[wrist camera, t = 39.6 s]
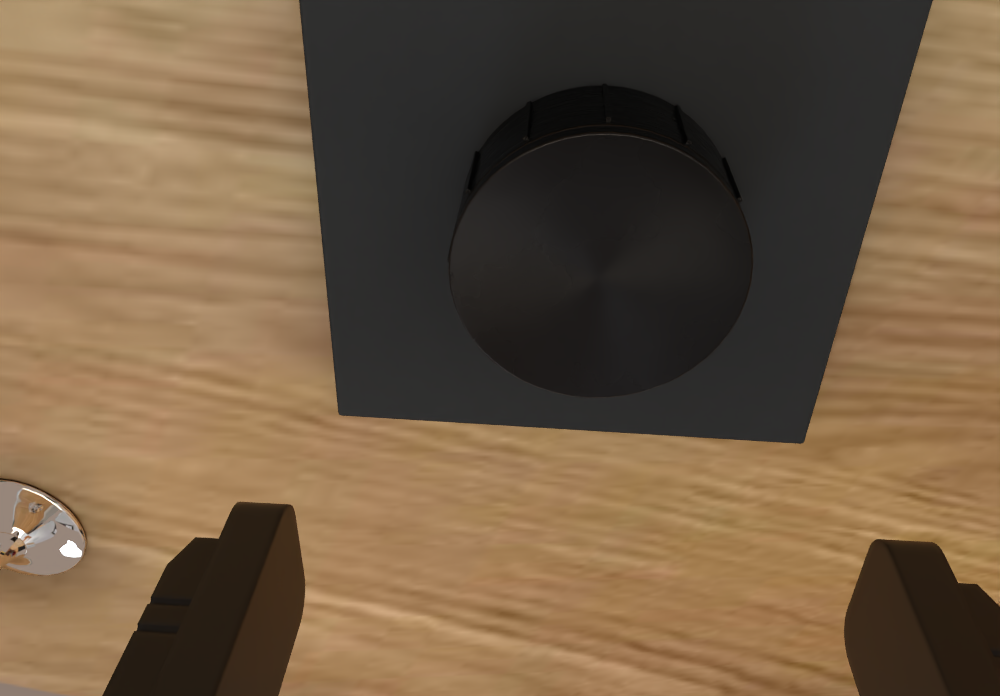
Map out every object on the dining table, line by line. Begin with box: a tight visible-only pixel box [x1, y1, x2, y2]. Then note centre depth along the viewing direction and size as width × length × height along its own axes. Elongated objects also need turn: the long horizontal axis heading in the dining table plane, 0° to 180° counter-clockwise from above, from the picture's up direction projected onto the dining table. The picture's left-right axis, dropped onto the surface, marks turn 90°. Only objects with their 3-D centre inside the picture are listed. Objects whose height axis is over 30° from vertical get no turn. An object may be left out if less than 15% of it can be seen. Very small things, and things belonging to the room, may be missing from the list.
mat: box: [299, 0, 933, 444], centre depth 21 cm, size 13×13×1 cm
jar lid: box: [447, 84, 753, 398], centre depth 20 cm, size 6×6×3 cm
